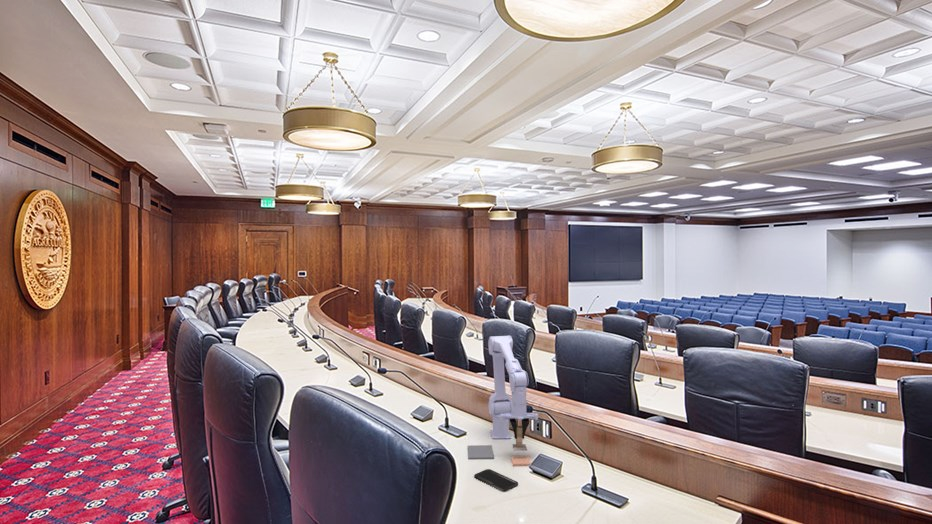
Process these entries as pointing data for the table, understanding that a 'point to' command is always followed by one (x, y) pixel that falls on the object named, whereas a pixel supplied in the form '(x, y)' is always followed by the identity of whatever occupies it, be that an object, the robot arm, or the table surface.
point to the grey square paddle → (519, 441)
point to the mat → (480, 452)
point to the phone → (496, 480)
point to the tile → (520, 460)
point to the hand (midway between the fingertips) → (519, 437)
